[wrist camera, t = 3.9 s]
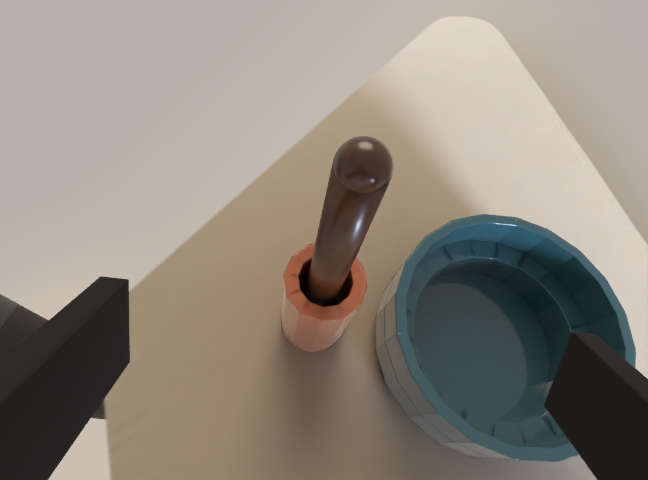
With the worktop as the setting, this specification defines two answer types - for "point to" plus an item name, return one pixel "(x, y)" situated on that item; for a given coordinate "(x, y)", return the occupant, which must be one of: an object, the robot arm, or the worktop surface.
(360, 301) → the crock
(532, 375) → the bowl
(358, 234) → the stirring stick
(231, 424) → the worktop surface
